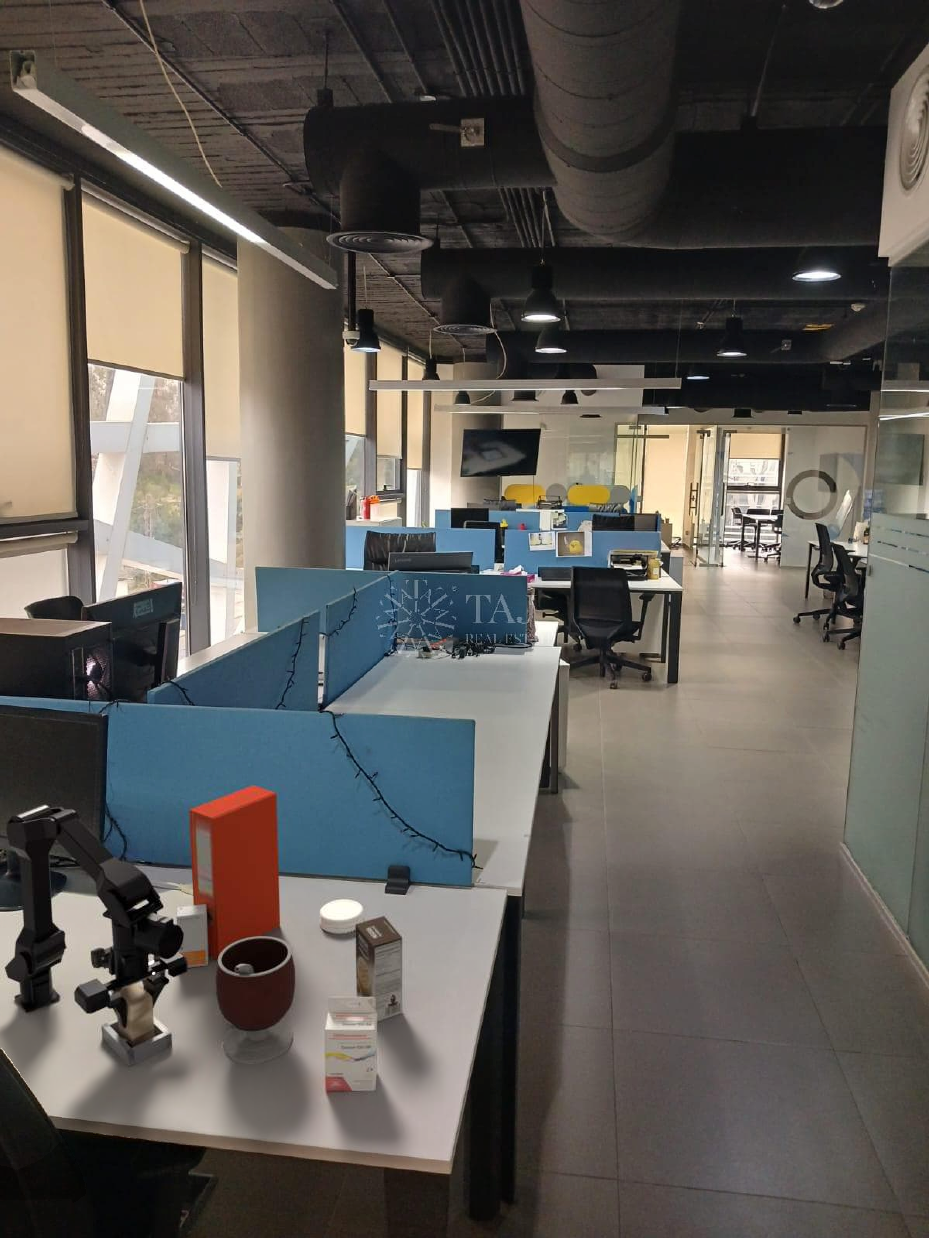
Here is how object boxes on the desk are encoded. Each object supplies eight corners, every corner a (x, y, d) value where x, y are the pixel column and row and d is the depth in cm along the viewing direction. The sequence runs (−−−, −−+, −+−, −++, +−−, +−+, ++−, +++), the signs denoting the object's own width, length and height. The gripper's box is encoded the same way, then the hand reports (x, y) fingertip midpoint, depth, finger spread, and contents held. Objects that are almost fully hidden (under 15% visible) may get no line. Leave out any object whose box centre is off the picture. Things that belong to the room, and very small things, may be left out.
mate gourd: (235, 1014, 167) (231, 917, 163) (306, 1019, 165) (303, 922, 162) (202, 1069, 152) (197, 964, 148) (280, 1076, 150) (276, 970, 146)
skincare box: (178, 970, 181) (175, 916, 179) (179, 958, 185) (176, 906, 183) (209, 965, 183) (206, 912, 181) (209, 954, 187) (206, 903, 185)
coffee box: (355, 997, 172) (353, 922, 169) (384, 988, 175) (383, 914, 172) (373, 1023, 164) (372, 945, 161) (404, 1013, 167) (403, 936, 164)
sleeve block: (133, 1046, 155) (130, 1006, 154) (118, 1031, 159) (115, 991, 158) (154, 1036, 158) (152, 996, 157) (139, 1021, 162) (136, 982, 161)
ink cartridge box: (324, 1092, 146) (322, 1013, 144) (328, 1072, 151) (326, 995, 149) (376, 1091, 147) (375, 1012, 144) (378, 1071, 151) (377, 994, 149)
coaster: (348, 939, 194) (347, 924, 193) (311, 928, 198) (310, 914, 197) (372, 918, 203) (371, 904, 202) (336, 908, 207) (335, 894, 206)
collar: (102, 1037, 160) (101, 1025, 159) (144, 1018, 165) (143, 1006, 165) (129, 1066, 152) (128, 1053, 152) (172, 1044, 158) (171, 1032, 157)
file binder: (281, 926, 198) (276, 792, 193) (220, 960, 185) (213, 818, 179) (256, 915, 203) (251, 784, 197) (195, 948, 189) (188, 809, 183)
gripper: (158, 907, 168) (163, 981, 170) (58, 944, 154) (65, 1024, 157) (187, 929, 160) (191, 1006, 163) (84, 970, 147) (91, 1053, 150)
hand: (135, 1021), depth 158 cm, fingers closed on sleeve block, 4 cm apart
